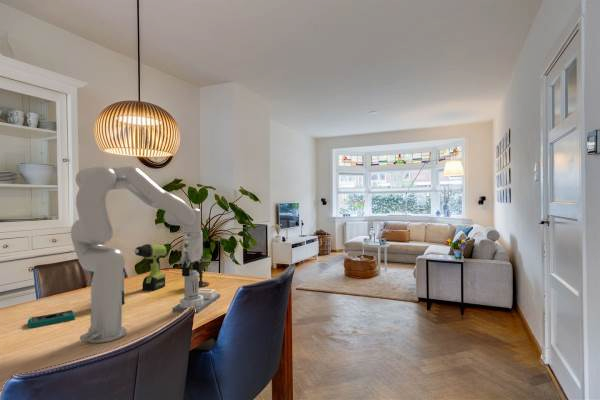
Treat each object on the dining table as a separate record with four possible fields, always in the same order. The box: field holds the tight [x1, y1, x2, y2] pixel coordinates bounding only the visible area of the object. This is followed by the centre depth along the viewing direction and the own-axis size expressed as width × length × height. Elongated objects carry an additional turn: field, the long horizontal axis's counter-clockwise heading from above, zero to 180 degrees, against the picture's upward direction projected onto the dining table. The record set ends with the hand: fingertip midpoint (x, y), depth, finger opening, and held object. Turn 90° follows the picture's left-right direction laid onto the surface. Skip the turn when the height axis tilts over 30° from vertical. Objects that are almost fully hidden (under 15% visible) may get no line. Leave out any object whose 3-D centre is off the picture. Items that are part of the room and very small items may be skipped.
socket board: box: [172, 288, 221, 314], centre depth 154 cm, size 24×12×4 cm, turn 171°
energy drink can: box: [183, 269, 200, 300], centre depth 148 cm, size 6×6×15 cm
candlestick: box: [190, 224, 212, 288], centre depth 188 cm, size 11×11×35 cm
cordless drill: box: [133, 243, 167, 292], centre depth 177 cm, size 23×7×25 cm, turn 167°
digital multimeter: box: [27, 310, 76, 329], centre depth 131 cm, size 7×15×3 cm, turn 131°
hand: (191, 273), depth 148 cm, fingers open, 9 cm apart
